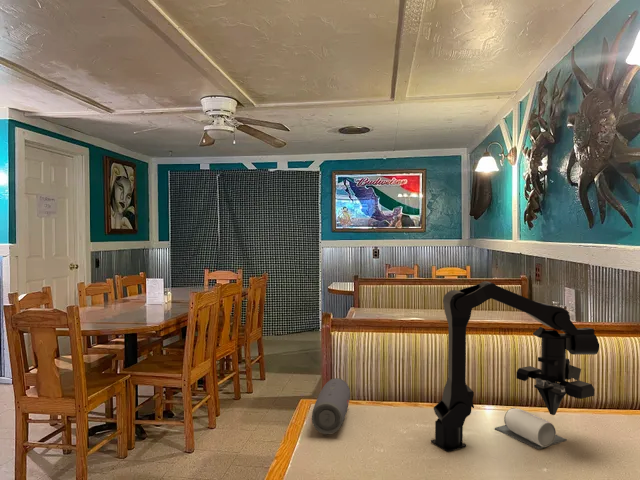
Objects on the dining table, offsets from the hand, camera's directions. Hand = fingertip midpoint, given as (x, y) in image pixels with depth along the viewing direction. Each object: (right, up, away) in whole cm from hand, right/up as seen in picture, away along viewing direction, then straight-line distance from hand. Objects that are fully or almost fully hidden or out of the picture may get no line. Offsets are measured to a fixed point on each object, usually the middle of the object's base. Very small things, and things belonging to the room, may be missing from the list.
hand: (552, 414), depth 122 cm
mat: (-3, -8, +6) cm, 11 cm away
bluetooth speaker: (-57, -8, +15) cm, 59 cm away
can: (-2, -4, -3) cm, 6 cm away
